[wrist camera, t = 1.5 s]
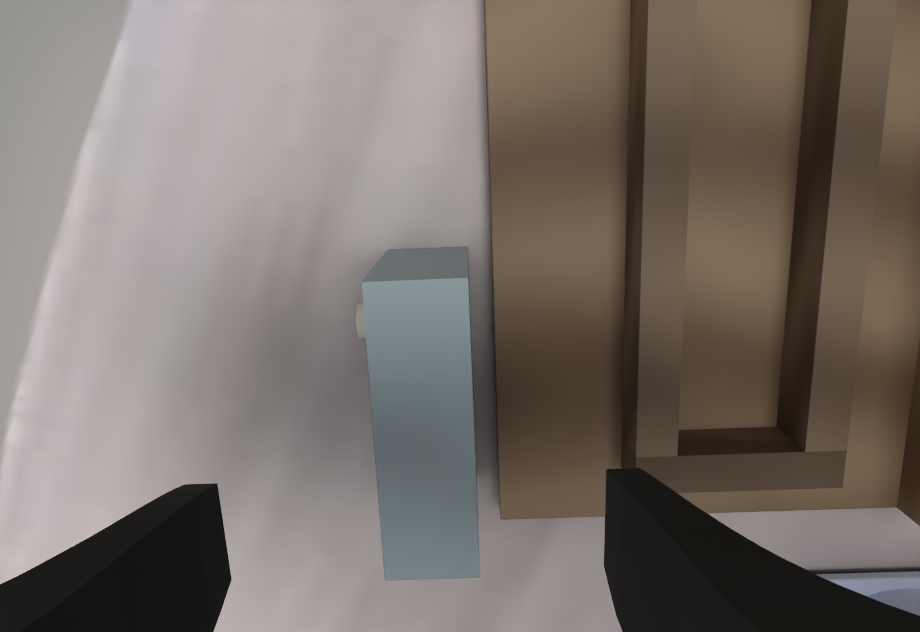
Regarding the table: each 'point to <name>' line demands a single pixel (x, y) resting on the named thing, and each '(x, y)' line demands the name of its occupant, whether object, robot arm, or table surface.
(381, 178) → the table surface
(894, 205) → the track base
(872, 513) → the table surface
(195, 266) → the table surface
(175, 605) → the robot arm
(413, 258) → the grey-blue rectangular block
